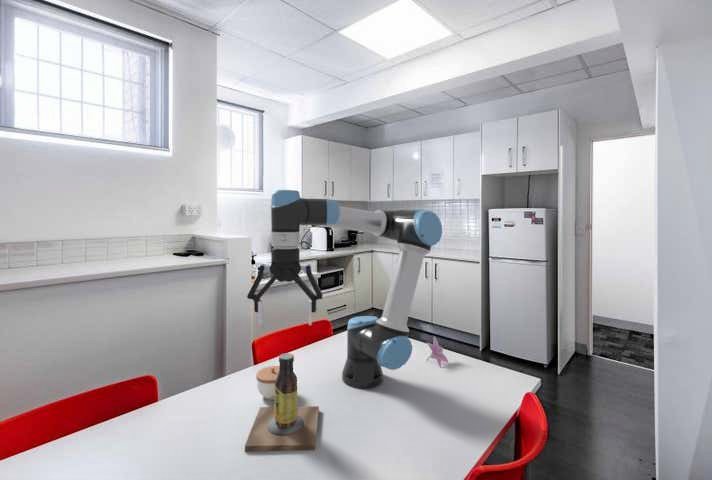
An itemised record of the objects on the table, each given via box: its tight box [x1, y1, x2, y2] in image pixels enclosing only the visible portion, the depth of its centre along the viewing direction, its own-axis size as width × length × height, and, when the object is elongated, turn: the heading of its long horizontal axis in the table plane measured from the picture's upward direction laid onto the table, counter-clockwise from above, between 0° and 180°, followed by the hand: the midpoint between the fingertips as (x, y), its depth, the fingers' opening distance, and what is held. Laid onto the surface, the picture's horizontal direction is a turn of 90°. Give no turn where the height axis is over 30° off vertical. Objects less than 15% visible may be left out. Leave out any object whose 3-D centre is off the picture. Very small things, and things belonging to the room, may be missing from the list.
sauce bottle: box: [274, 352, 298, 428], centre depth 99 cm, size 6×6×20 cm
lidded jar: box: [255, 365, 280, 401], centre depth 118 cm, size 11×11×9 cm
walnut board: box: [244, 405, 320, 452], centre depth 100 cm, size 18×18×2 cm
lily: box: [426, 335, 449, 368], centre depth 146 cm, size 12×12×10 cm
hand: (285, 323), depth 97 cm, fingers open, 13 cm apart
